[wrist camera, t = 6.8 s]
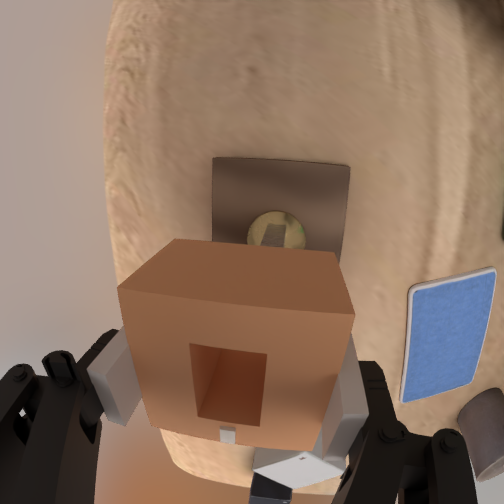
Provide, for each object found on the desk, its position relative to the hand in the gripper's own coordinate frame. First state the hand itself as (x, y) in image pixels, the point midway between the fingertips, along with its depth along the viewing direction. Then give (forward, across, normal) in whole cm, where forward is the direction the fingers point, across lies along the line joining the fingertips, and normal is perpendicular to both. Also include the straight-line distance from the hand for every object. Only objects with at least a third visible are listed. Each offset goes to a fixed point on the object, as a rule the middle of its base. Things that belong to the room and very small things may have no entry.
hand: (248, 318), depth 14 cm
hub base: (+16, 0, 0) cm, 16 cm away
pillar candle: (+16, -39, +27) cm, 50 cm away
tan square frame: (0, 0, 0) cm, 0 cm away
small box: (+16, -4, +41) cm, 45 cm away
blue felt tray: (+16, -23, +12) cm, 31 cm away
